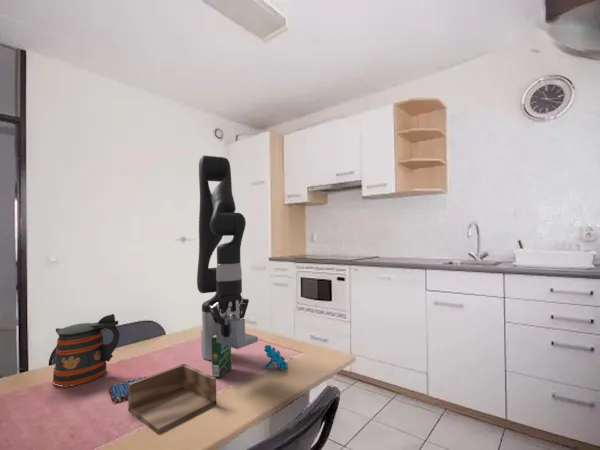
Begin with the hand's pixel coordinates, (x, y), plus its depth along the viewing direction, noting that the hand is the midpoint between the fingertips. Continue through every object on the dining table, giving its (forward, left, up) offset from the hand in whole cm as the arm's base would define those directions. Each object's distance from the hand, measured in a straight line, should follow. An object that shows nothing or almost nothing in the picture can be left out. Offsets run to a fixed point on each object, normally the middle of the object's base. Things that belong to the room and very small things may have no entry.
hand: (230, 335), depth 96 cm
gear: (+2, +18, -15) cm, 24 cm away
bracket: (0, +2, -3) cm, 4 cm away
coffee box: (-10, +4, -15) cm, 19 cm away
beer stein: (-45, -24, -15) cm, 53 cm away
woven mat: (-22, -20, -16) cm, 34 cm away
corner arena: (-3, -17, -15) cm, 23 cm away
